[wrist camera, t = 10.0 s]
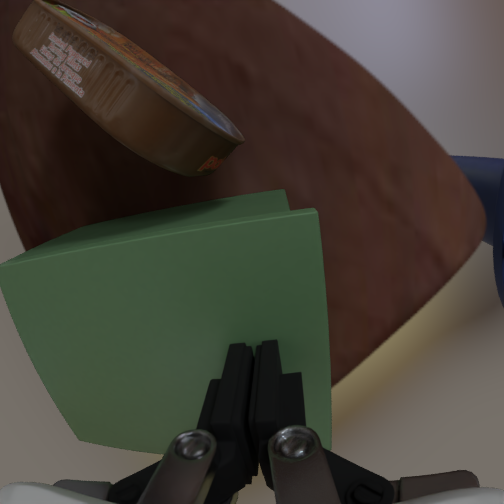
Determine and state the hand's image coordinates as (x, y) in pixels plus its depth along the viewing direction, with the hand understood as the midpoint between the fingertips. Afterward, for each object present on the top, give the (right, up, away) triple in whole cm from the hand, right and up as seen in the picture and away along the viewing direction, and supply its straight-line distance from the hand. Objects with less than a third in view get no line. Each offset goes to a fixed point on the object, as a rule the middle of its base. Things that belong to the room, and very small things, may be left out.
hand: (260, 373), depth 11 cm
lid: (-4, 0, +1) cm, 5 cm away
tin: (-7, +15, +5) cm, 17 cm away
